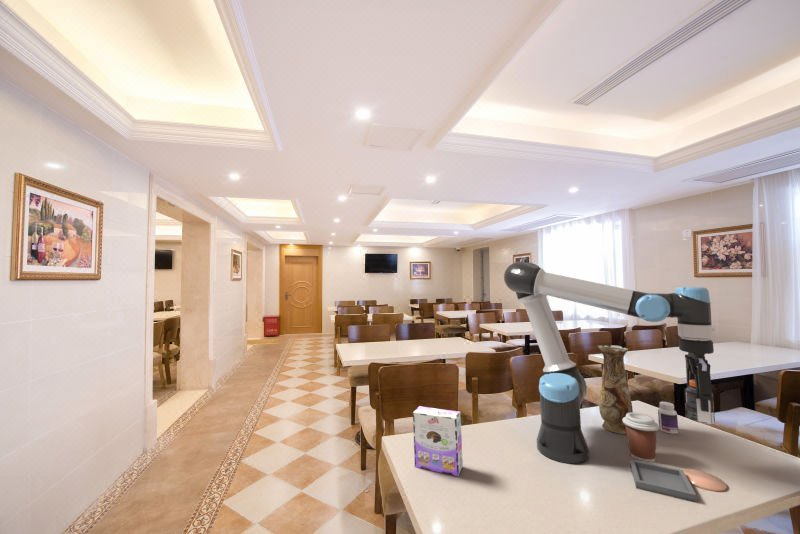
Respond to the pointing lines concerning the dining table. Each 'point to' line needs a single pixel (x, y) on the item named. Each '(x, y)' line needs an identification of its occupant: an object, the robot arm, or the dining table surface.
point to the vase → (614, 389)
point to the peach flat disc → (704, 480)
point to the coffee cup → (641, 436)
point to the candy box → (438, 440)
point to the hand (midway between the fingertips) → (700, 417)
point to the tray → (662, 480)
